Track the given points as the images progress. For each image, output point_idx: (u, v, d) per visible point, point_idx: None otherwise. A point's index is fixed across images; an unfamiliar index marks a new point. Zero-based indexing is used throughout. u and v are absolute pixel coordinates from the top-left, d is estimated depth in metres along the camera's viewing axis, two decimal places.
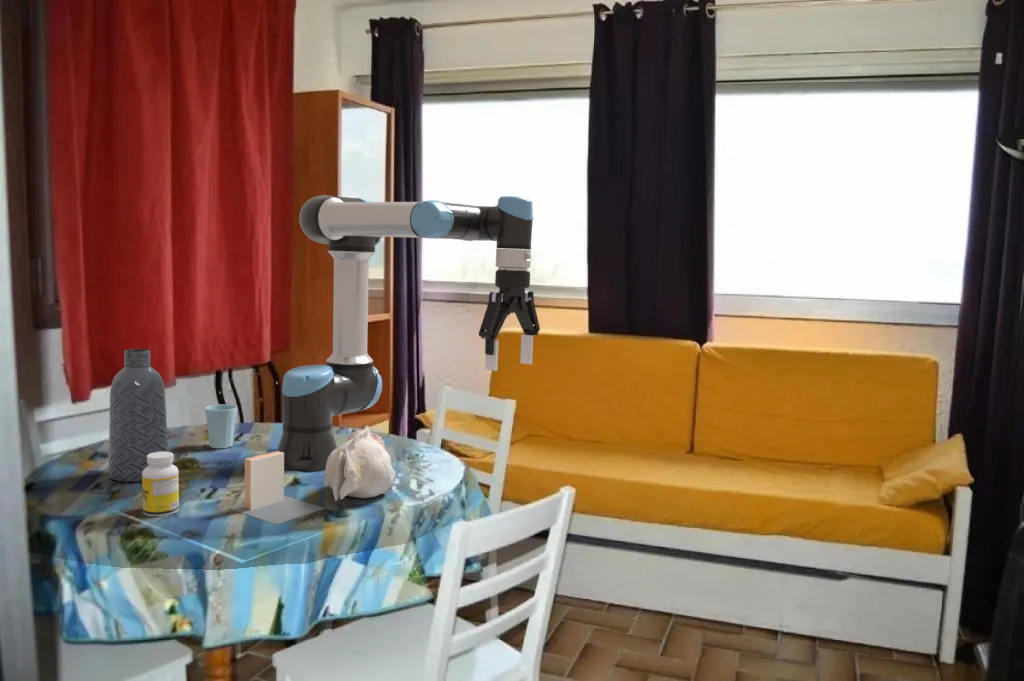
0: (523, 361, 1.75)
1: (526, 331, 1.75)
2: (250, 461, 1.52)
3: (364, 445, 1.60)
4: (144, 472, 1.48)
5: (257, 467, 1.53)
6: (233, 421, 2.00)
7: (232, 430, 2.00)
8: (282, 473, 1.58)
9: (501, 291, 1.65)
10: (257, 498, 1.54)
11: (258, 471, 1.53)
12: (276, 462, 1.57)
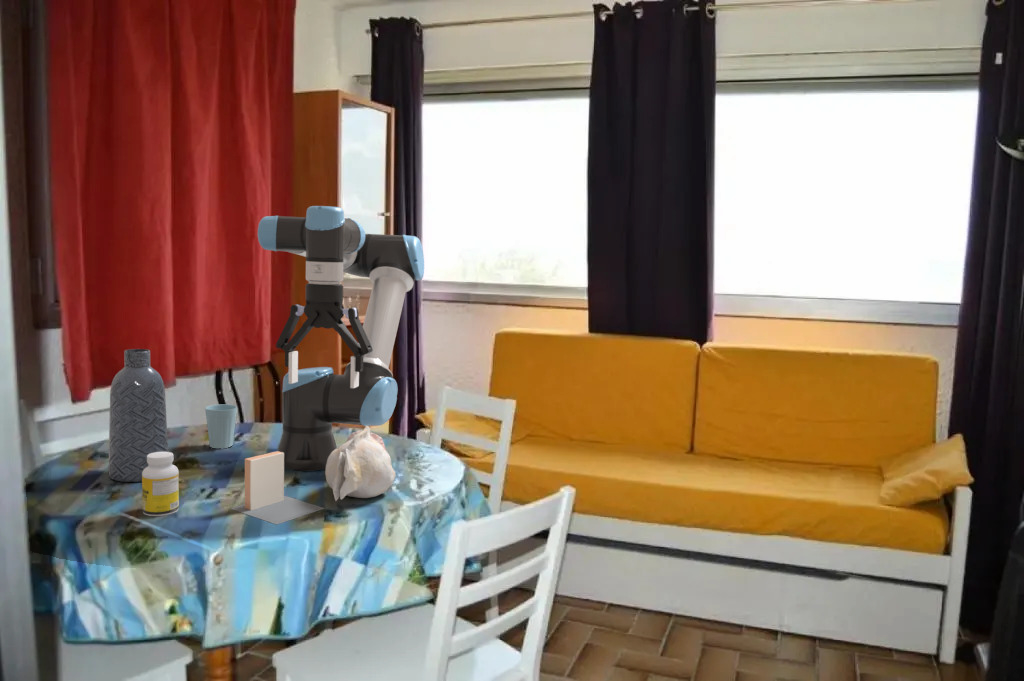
0: None
1: None
2: (250, 461, 1.52)
3: (364, 445, 1.60)
4: (144, 472, 1.48)
5: (257, 467, 1.53)
6: (233, 421, 2.00)
7: (232, 430, 2.00)
8: (282, 473, 1.58)
9: None
10: (257, 498, 1.54)
11: (258, 471, 1.53)
12: (276, 462, 1.57)
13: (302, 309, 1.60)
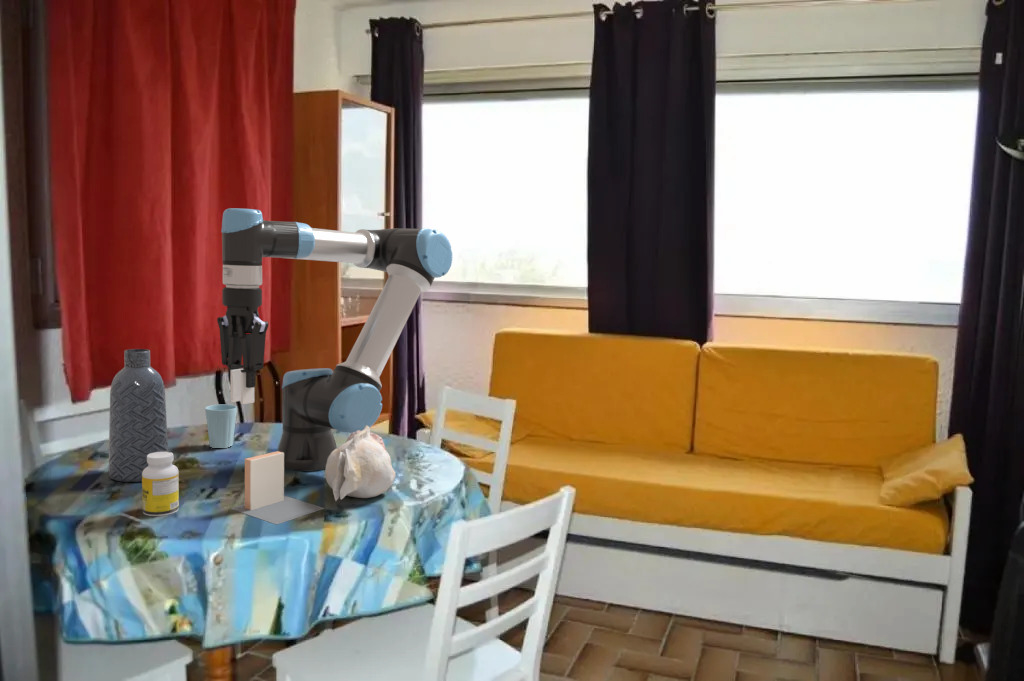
0: None
1: None
2: (250, 461, 1.52)
3: (364, 445, 1.60)
4: (144, 472, 1.48)
5: (257, 467, 1.53)
6: (233, 421, 2.00)
7: (232, 430, 2.00)
8: (282, 473, 1.58)
9: None
10: (257, 498, 1.54)
11: (258, 471, 1.53)
12: (276, 462, 1.57)
13: (226, 317, 1.58)
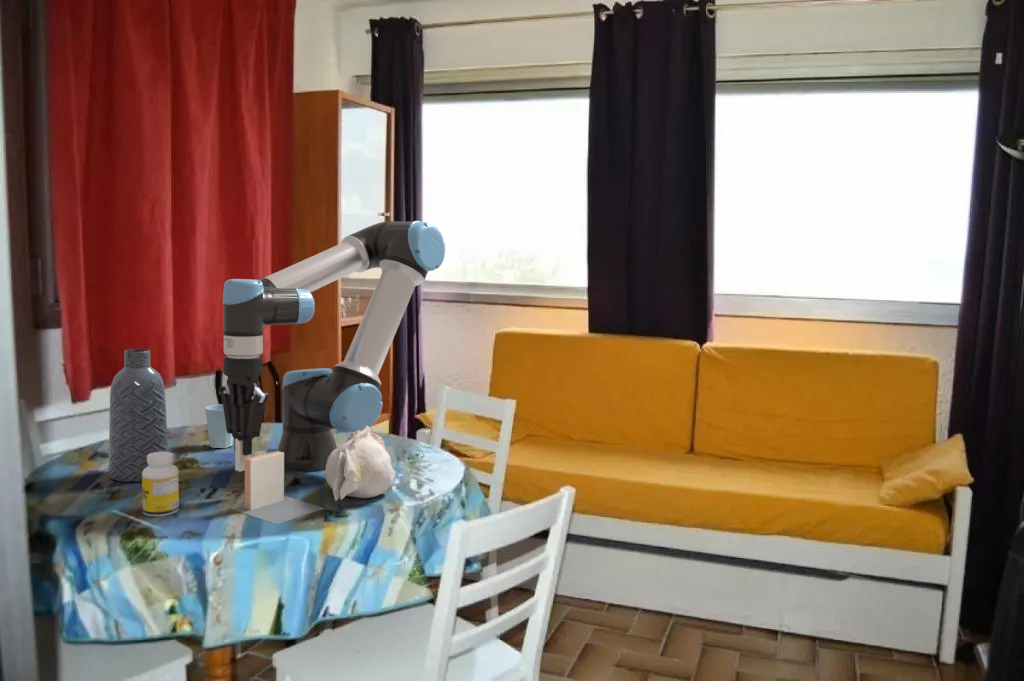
0: None
1: None
2: (250, 461, 1.52)
3: (364, 445, 1.60)
4: (144, 472, 1.48)
5: (257, 467, 1.53)
6: None
7: None
8: (282, 473, 1.58)
9: None
10: (257, 498, 1.54)
11: (258, 471, 1.53)
12: (276, 462, 1.57)
13: (228, 386, 1.60)
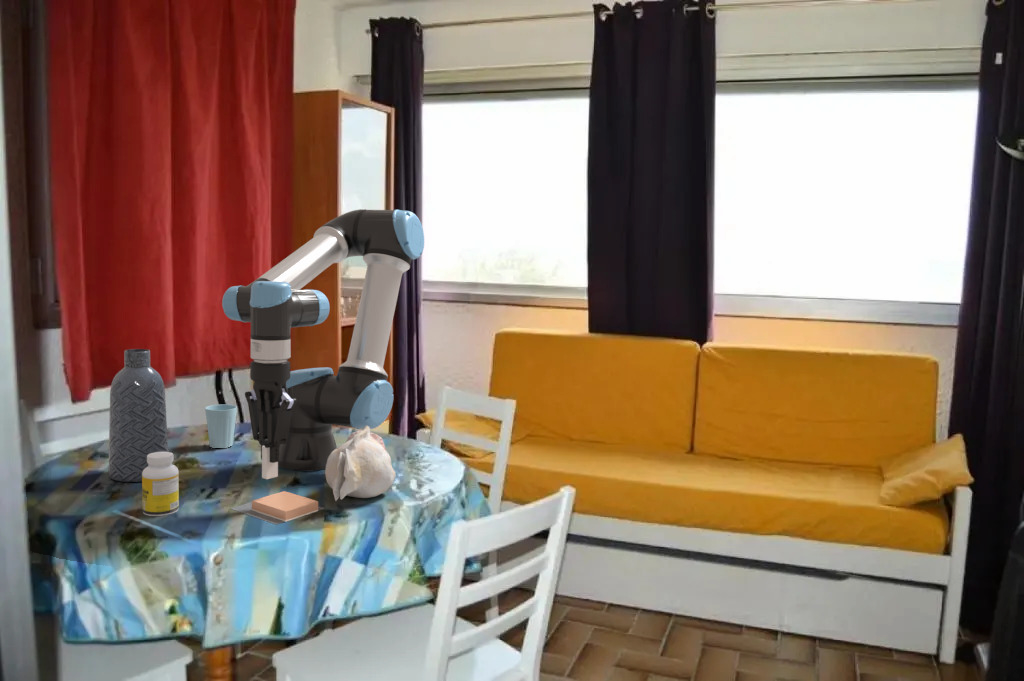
0: None
1: None
2: (285, 520, 1.47)
3: (364, 445, 1.60)
4: (144, 472, 1.48)
5: None
6: (233, 421, 2.00)
7: (232, 430, 2.00)
8: None
9: None
10: None
11: None
12: None
13: (254, 391, 1.55)
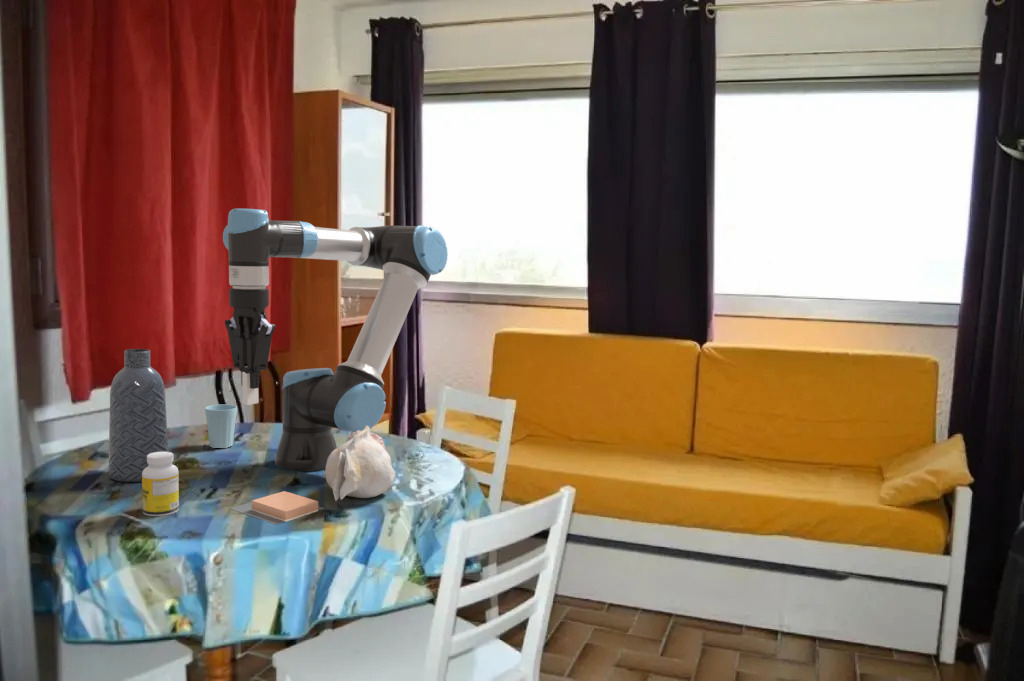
0: None
1: None
2: (285, 520, 1.47)
3: (364, 445, 1.60)
4: (144, 472, 1.48)
5: None
6: (233, 421, 2.00)
7: (232, 430, 2.00)
8: None
9: None
10: None
11: None
12: None
13: (234, 319, 1.57)
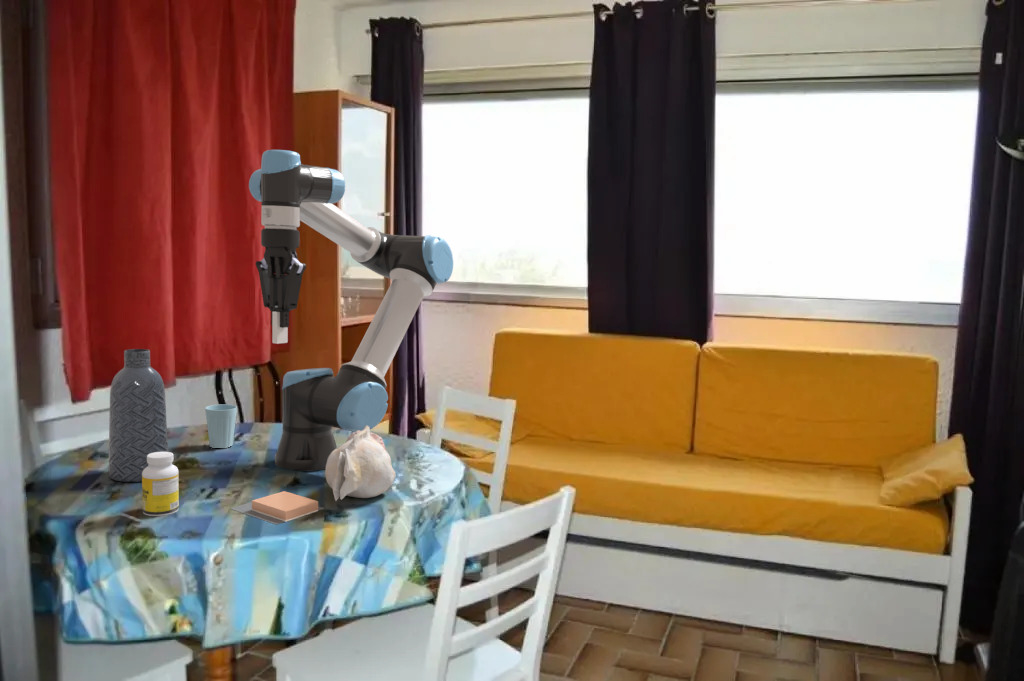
0: None
1: None
2: (285, 520, 1.47)
3: (364, 445, 1.60)
4: (144, 472, 1.48)
5: None
6: (233, 421, 2.00)
7: (232, 430, 2.00)
8: None
9: None
10: None
11: None
12: None
13: (264, 260, 1.61)
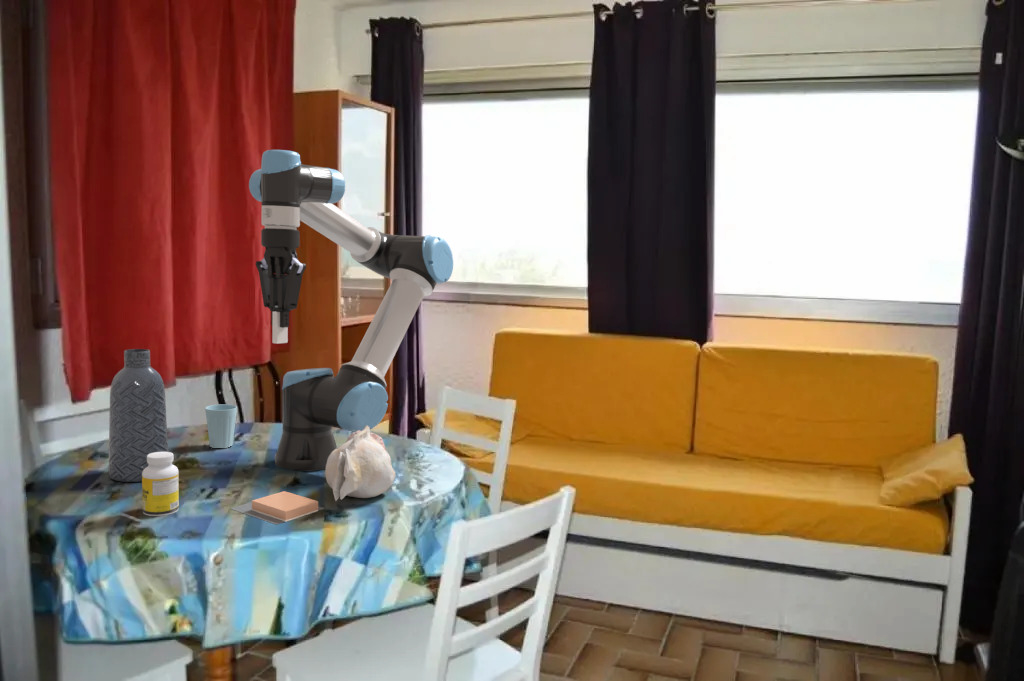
0: None
1: None
2: (285, 520, 1.47)
3: (364, 445, 1.60)
4: (144, 472, 1.48)
5: None
6: (233, 421, 2.00)
7: (232, 430, 2.00)
8: None
9: None
10: None
11: None
12: None
13: (264, 260, 1.61)
